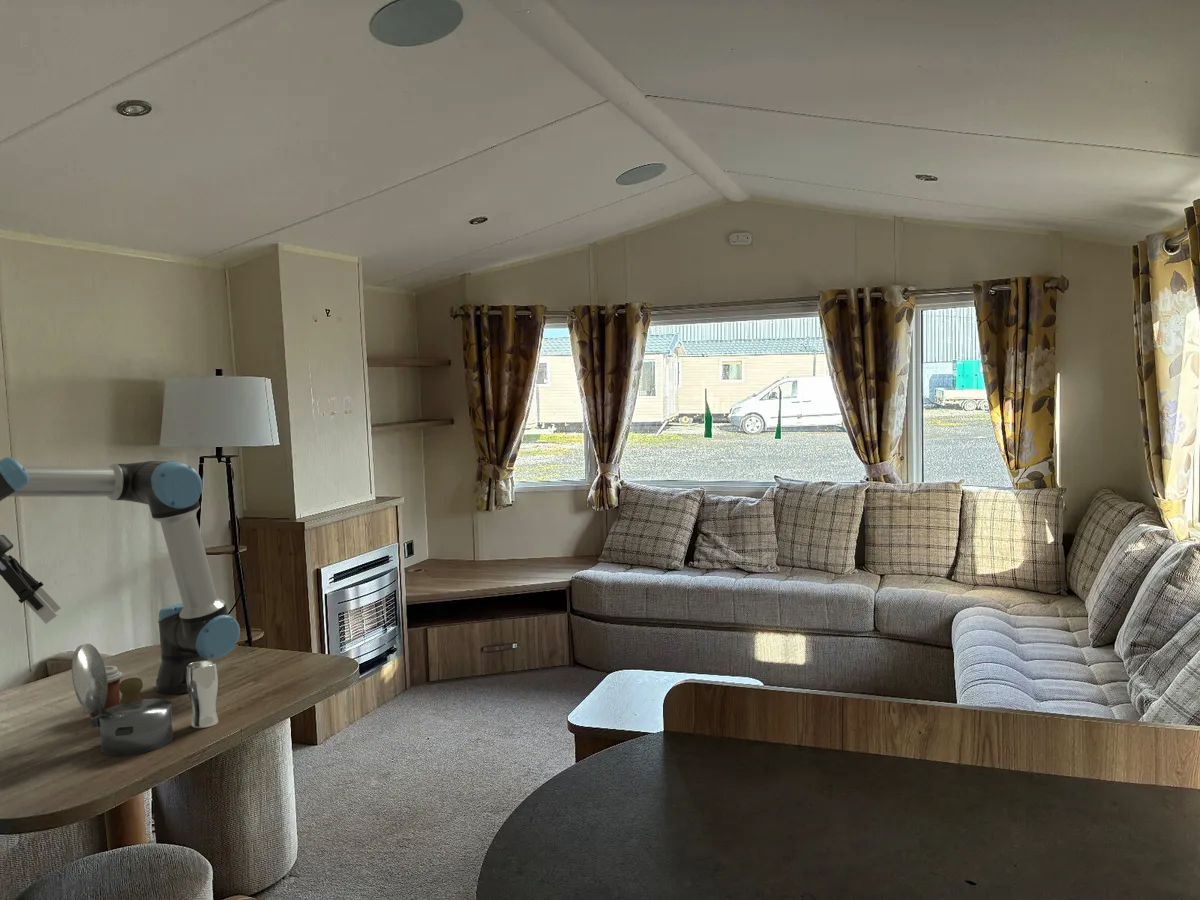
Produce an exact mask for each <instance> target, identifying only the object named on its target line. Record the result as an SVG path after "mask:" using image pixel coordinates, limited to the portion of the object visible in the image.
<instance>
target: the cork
mask: <svg viewBox="0 0 1200 900" xmlns="http://www.w3.org/2000/svg"><path fill="white" fill-rule="evenodd" d="M143 686H144V685H143V681H142V679H141V678H139V677H129V678H125V679H123V680H120V685H119V689H120V693H121V703H125V702H129V701H134V700H141V699H143V695H142V689H143ZM121 703H120V704H121Z"/></svg>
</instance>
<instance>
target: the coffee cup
mask: <svg viewBox="0 0 1200 900" xmlns="http://www.w3.org/2000/svg"><path fill="white" fill-rule="evenodd" d="M104 666H105V670H106V675H107V687H108V689H107V699H106V702H105V708H104V709H103V710H102V711H104V710H105V709H107V708H109V707H112V706H115V705H118V704H120V693H121V692H120V689H119V685H120V683H121V679H122V678H123V672H121V671H119V669H118V667H117V666H114V665H104ZM94 717H95V716H93V715H92V713H90V712H89V719H90V720H91V721H92V719H93V718H94Z"/></svg>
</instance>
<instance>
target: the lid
mask: <svg viewBox="0 0 1200 900" xmlns="http://www.w3.org/2000/svg"><path fill="white" fill-rule="evenodd" d="M71 661H72V662H71V675H72V676H71V679H72V685H73V689H74V693H75V695H76V698H77V700H78V702H79V704H80V705H81V707H82V708H83V709H84V710H85V711H86V712H88V713H89V714H90V713H92V715H93V716H97V715H98V714H99V713H100V712H101V711H102V710H103V709H104V708H105V702H106V699H107V689H108V687H107V675H106V670H105V666H106V665H105V663H104V661H103V657H102V656H101V654H100V652H99V650H98V649H97V648H96V647H95V646H94V645H93V644H90V643H84V644H81V645H79V646H77V648H76V649H75V650H74V653H73V656H72V660H71Z"/></svg>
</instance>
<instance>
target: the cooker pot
mask: <svg viewBox="0 0 1200 900" xmlns="http://www.w3.org/2000/svg"><path fill="white" fill-rule="evenodd" d="M172 712H173V711H172V703H171V701H170V700H167V699H163V698H144V699H143V698H142V699H141V700H134V701H129V702H125V703H119V704H118V705H115V706H112V707H109V708H107V709H105V710H104V711H101V712H100V713H99V714H98V715H97V716H95V717H94V718H93V719H92V720H91V722H92V723H91V725H92V728H99V736H100V737H99V738H100V751H101V753H102V754H104V755H105V756H111V757H126V756H128V757H129V756H135V755H141V754H144V753H145V754H146V753H149V752H151V751H155V750H158V749H160V748H162V747H165V746H167V745H168V744H169V743H170V742H172V741H173V738H174V729H173V728H174V727H173V714H172Z"/></svg>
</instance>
